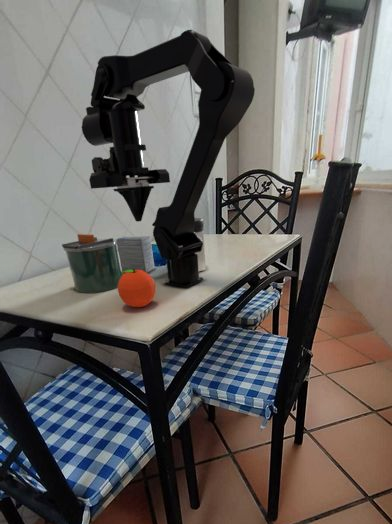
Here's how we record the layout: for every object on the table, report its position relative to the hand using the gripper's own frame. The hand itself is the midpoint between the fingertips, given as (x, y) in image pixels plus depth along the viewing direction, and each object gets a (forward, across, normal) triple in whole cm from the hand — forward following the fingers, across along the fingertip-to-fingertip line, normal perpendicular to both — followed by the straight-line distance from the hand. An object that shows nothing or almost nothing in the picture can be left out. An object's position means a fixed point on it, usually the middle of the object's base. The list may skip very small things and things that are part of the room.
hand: (138, 221), depth 72 cm
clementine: (+13, +16, +13) cm, 24 cm away
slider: (+3, +13, -6) cm, 15 cm away
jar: (+13, -10, +6) cm, 18 cm away
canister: (+13, +10, -6) cm, 17 cm away
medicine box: (+13, -4, -7) cm, 15 cm away
